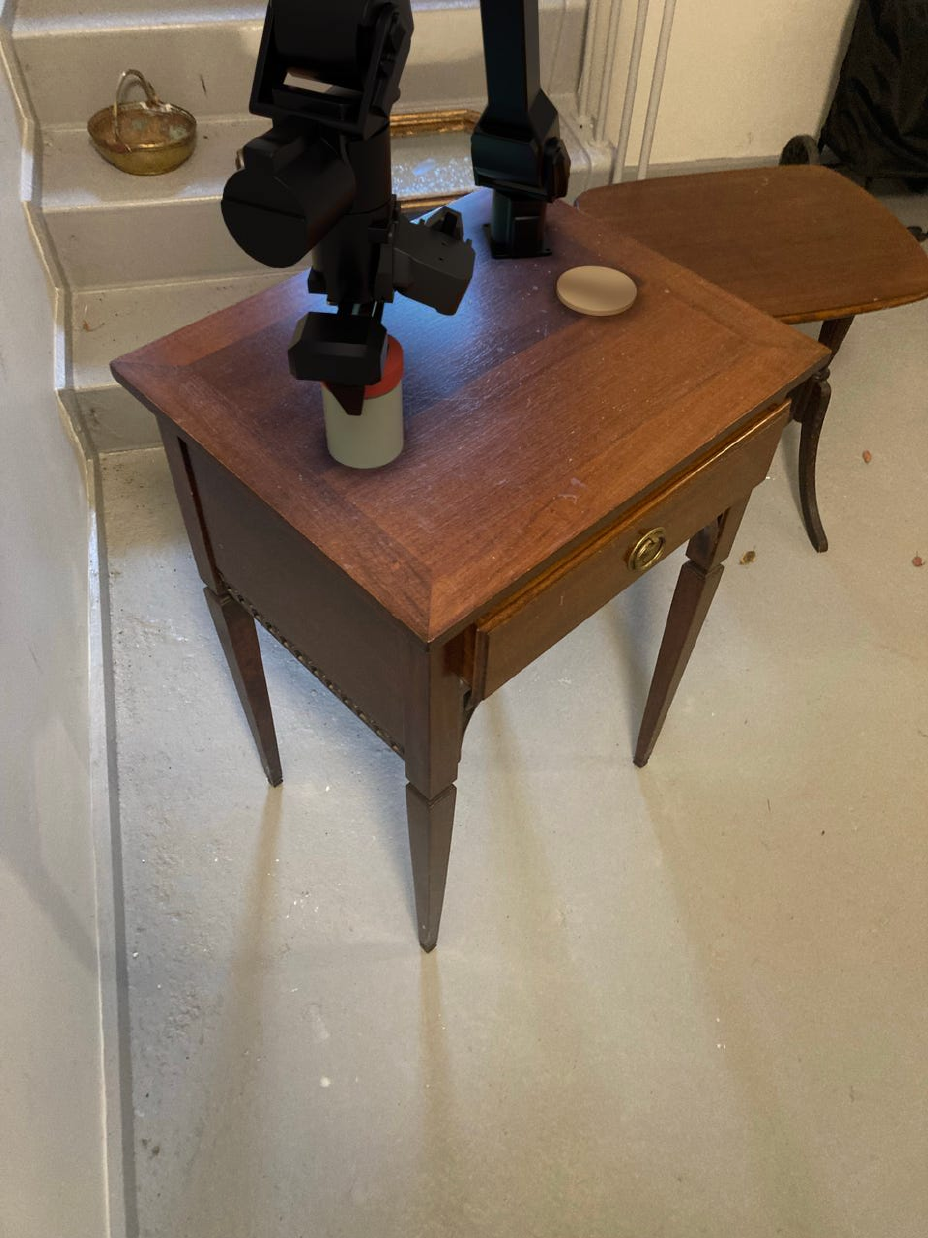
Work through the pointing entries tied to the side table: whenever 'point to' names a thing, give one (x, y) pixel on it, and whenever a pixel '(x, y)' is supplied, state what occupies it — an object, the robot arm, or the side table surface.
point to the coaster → (596, 290)
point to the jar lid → (388, 370)
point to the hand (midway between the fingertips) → (361, 387)
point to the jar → (365, 429)
